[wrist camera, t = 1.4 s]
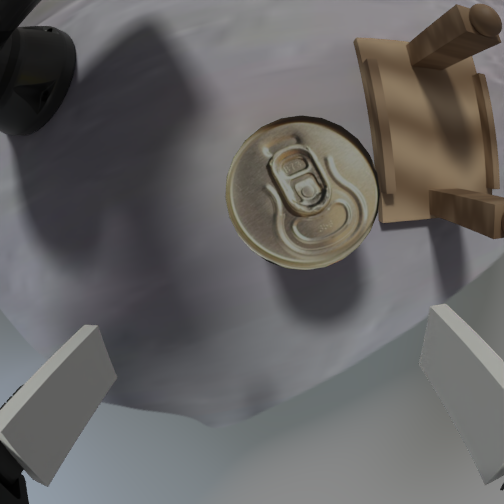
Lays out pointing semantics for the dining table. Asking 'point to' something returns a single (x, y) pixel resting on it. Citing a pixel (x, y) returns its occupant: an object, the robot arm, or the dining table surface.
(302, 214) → the beverage can
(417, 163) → the knobbed wooden cradle
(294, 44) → the dining table surface
